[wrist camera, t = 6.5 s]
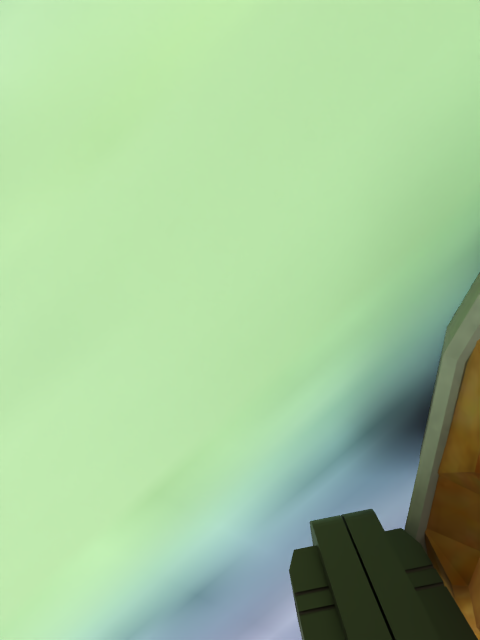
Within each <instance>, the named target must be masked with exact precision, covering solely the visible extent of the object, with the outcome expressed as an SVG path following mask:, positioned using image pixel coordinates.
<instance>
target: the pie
mask: <svg viewBox="0 0 480 640" xmlns="http://www.w3.org/2000/svg"><path fill="white" fill-rule="evenodd" d="M404 531H405V532H407V533H408V534H409V535H410V536H412V537H413V538H414V539H415V540H417V541H418V542H419V543H420V544H421V545H422V547H423V549H424V550H425V552H426V554H427V555H428V557H429V559H430V560H431V562H432V564H433V567H434V569H436V570H437V572H438V573H439V575H440V577H441V578H442V580H443V582H444V585H445V586H446V587H447V588H448V590H449V592H450V593H451V595H452V597H453V598H454V600H455V602H456V603H457V605H458V607H459V608H460V610H461V612H462V613H463V615H464V617H465V618H466V620H467V622H468V623H469V625H470V627H471V628H472V630H473V632H474V633H475V635H476V637H477V638H478V640H480V273H479V274H478V276H477V278H476V279H475V281H474V283H473V284H472V286H471V288H470V289H469V291H468V293H467V294H466V296H465V298H464V299H463V301H462V303H461V305H460V306H459V308H458V310H457V311H456V313H455V315H454V316H453V318H452V320H451V321H450V323H449V325H448V326H447V330H446V334H445V339H444V344H443V348H442V353H441V358H440V362H439V367H438V372H437V376H436V381H435V386H434V391H433V395H432V400H431V405H430V409H429V414H428V419H427V423H426V428H425V433H424V437H423V442H422V447H421V451H420V462H419V467H418V471H417V476H416V480H415V485H414V489H413V494H412V498H411V503H410V507H409V512H408V516H407V521H406V525H405V530H404Z"/></svg>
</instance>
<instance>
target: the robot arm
mask: <svg viewBox="0 0 480 640" xmlns="http://www.w3.org/2000/svg"><path fill="white" fill-rule="evenodd" d="M310 528H311V534H312V541H313V546H311V547H306V548H301V549H296V550H294V552H293V556H292V560H291V565H290V569H289V573H290V578H291V584H292V589H293V595H294V600H295V606H296V612H297V617H298V622H299V627H300V632H301V636H302V640H478V638H477V637H476V635H475V633H474V632H473V630H472V628H471V627H470V625H469V623H468V622H467V620H466V618H465V617H464V615H463V613H462V612H461V610H460V608H459V607H458V605H457V603H456V602H455V600H454V598H453V597H452V595H451V593H450V592H449V590H448V588H447V587H446V586H445V585H444V582H443V580H442V578H441V577H440V575H439V573H438V572H437V570H436V569H434V567H433V564H432V562H431V560H430V559H429V557H428V555H427V554H426V552H425V550H424V549H423V547H422V545H421V544H420V543H419V542H418V541H417V540H415V539H414V538H413V537H412V536H410V535H409V534H408V533H407V532H405V531H404V530H403V529H402V528H399V529H394V530H389V531H384V529H383V527H382V525H381V523H380V521H379V520H378V518H377V516H376V514H375V512H374V511H373V510H372V509H368V510H363V511H358V512H353V513H348V514H343V515H341V516H340V515H339V516H334V517H329V518H324V519H319V520H314V521H310Z"/></svg>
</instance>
